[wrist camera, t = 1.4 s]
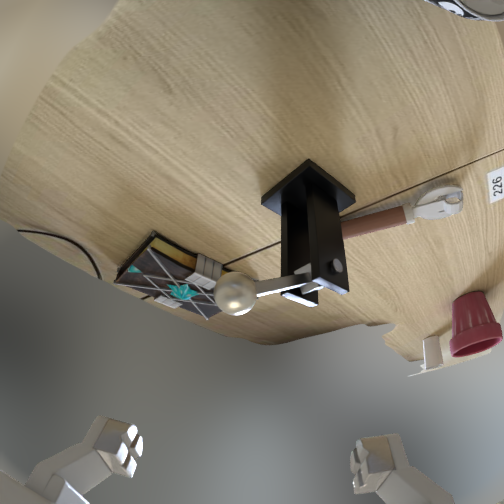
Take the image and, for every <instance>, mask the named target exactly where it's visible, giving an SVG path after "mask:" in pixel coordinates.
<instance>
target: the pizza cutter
mask: <svg viewBox="0 0 504 504" xmlns="http://www.w3.org/2000/svg"><path fill="white" fill-rule="evenodd" d="M462 190H463V188H462V187H459V186H456V185H445V186H440V187H435V188H433V189H431V190H429V191H427V192H426V193H425V194H423V195H422V196H421V197H420V198H419V199H418V201H417V203H416V205H415V206H414V207H411V205H410V203H406V204H403V205H402V206H399V207H395V208H392V209H388V210H384V211H380V212H377V213H373V214H369V215H365V216H362V217H358V218H354V219H351V220H347V221H343V222H341V229H342V235H343V240H344V239H348V238H352V237H356V236H359V235H363V234H367V233H371V232H375V231H379V230H383V229H387V228H391V227H395V226H399V225H402V224H406V223H407V224H410V223H414V222H415V220H414V218H416V217H422V218H423V219H429V220H435V219H442V218H445V217H448V216H451V215H452V214H457V213H460V212H461V211H462V208H463V193H462ZM439 196H441V199H440V200H436V199H437V198H438V197H439ZM451 197H457V198H458V199H459V200H460V201H458V202H455V203H449V202H447V201H446V199H448V198H451ZM435 200H436V201H435Z"/></svg>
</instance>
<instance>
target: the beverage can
mask: <svg viewBox="0 0 504 504" xmlns="http://www.w3.org/2000/svg"><path fill="white" fill-rule="evenodd" d="M424 1H426V2H429V3H431V4H434V5H436V6H439V7H441V8H443V9H446V10H448V11H450V12H452V13H454V14H457V15H459V16H461V17H464V18H467V19H472V20H488V21H503V20H504V0H424Z"/></svg>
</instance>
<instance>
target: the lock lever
mask: <svg viewBox="0 0 504 504" xmlns="http://www.w3.org/2000/svg"><path fill="white" fill-rule="evenodd" d="M294 273H295V275H290V276H285V277H279V278H273V279H268V280H262V281H257V282H254V281H253V280H252V279H251V278H250V277H249V276H248V275H246V274H244V273H242V272H229V273H226V274H225V275H223V276H222V277H220V278H219V280H218V281H217V282H216V285H215V287H214V299H215V302H216V304H217V306H218V307H219V308H220V309H221V310H222V311H223V312H225V313H227V314H230V315H241V314H244V313H246V312H248V311H249V310H250V309H251V308H252V307H253V306H254V304H255V302H256V299H257V297H258V296H262V295H267V294H271V293H276V292H280V291H284V290H288V289H293V288H297V287H300V290H301V292H302V294H306V293H310V292H313V291H317V290H320V289H322V288H324V286H322V285H320V284H318V283H316V282H314V281H312V278H311V263H309V264H307V265H305V266H303V267H301V268H299V269H298V270H296V271H294Z"/></svg>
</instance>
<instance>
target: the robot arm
mask: <svg viewBox="0 0 504 504" xmlns="http://www.w3.org/2000/svg"><path fill="white" fill-rule="evenodd" d="M136 431H137V428H136V426H135V425H134V424H130V423H126V422H122V421H118V420H114V419H111V418H108V417H104V416H98V417H97V418H96V419H95V421H94V423H93V424H92V426H91V427H90V430H89V431H88V433H87V434H86V436H85V438H84V440H83V442H82V443H81V444H80V443H77V444H75V445H73V446H72V447H70V448H68V449H66V450H64V451H62V452H60V453H58V454H56V455H54V456H52V457H50V458H48V459H46V460H44V461H42V462H40V463H38V464H37V465H36V467H35V468H34V470H33V472H32V473H31V475H30V477H29V478H28V480H27V482H26V483H25V485H22V484H21V483H20V482H18V481H16V480H15V479H14V478H12V477H11V476H9V475H8V474H6V473H5V472H4V471H2V470H1V469H0V504H90V503H89V502H88V501H87V500H85V499H84V498H83V497H82V495H84V494H85V493H86V492H88V491H89V490H91V489H92V488H93V487H95V486H96V485H97V484H99V483H100V482H102V481H103V480H104V479H106V478H107V477H108V476H110V475H111V474H112V472H113V473H116V474H120V475H124V476H127V477H130V478H131V477H132V475H133V472H134V470H135V467H136V464H135V461H134V460H135V459H137V458H138V457H140V454H141V452H142V445H143V444H142V439H141V437H140V436H139V435H138V434H137V433H136ZM356 447H357V448H355V449H354V450H353V451H352V453H351V458H350V467H351V471H352V472H353V473H354V474H355V475H356V476H355V477H354V479H353V486H354V493H355V494H361V493H368V492H375V491H376V493H377V494H378V495H379V496H380V497H381V499H382V500H383V501H384V502H385V503H386V504H455V503H454V500H453V497H452V495H451V494H449V493H448V492H446V491H445V490H444V489H442V488H441V487H440V486H438V485H437V484H436V483H434V482H433V481H432V480H430V479H429V478H428V477H426V476H425V475H424V474H423V473H421V472H420V471H419V470H417V469H416V468H415V467H413V466H412V467H410V466H409V463H408V460H407V457H406V454H405V450H404V447H403V445H402V441H401V438H400V435H399V434H397V433H395V434H389V435H381V436H374V437H367V438H360V439H358V440H357V442H356ZM497 504H504V500H502V501H500V502H499V503H497Z"/></svg>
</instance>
